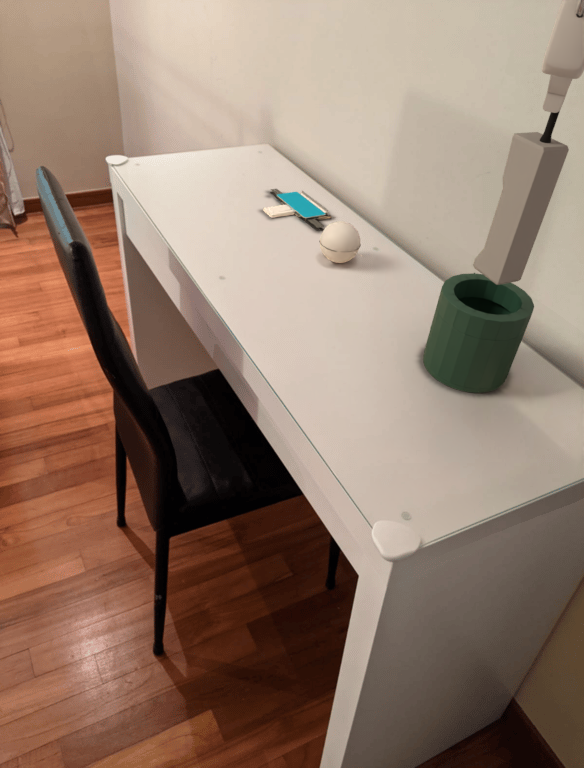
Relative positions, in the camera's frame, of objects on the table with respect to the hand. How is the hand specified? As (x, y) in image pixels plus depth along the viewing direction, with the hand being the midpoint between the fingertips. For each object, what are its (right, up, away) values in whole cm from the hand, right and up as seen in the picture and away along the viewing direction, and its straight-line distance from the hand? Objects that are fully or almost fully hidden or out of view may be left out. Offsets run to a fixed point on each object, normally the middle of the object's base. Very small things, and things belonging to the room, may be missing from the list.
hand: (551, 108), depth 65 cm
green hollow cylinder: (-2, -27, +25) cm, 37 cm away
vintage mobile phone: (-2, -15, +13) cm, 20 cm away
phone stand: (-27, +7, +63) cm, 69 cm away
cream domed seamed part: (-19, -8, +47) cm, 51 cm away
